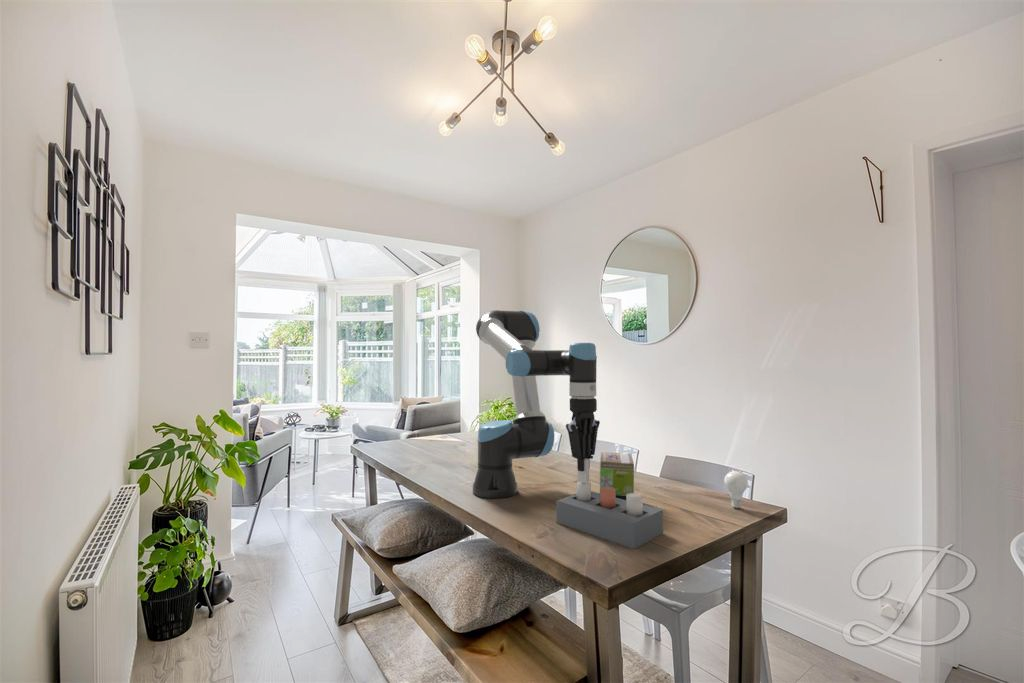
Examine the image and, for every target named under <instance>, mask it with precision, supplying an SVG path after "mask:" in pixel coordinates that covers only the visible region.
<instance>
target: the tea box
mask: <svg viewBox="0 0 1024 683" xmlns="http://www.w3.org/2000/svg"><path fill="white" fill-rule="evenodd" d="M599 463H600V464H599V489H600V488H602V487H612V488H615V495H616V498H619V499H623V500H626V495H627V494H629V493H635V463H634V459H633V455H632V453H626V452H625V453H624V452H621V453H620V452H609V451H608V452H607V451H606V452H605V451H604V452H602V451H601V453H600V460H599Z"/></svg>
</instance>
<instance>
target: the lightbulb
mask: <svg viewBox="0 0 1024 683" xmlns="http://www.w3.org/2000/svg"><path fill="white" fill-rule="evenodd" d="M724 485H725V487H726V489H727V491H728V492H729V497H730V499H731V500H730V502H731V507H732V508H734V509H735V510H736V509H740V508H742V498H743V495H744V493H745V491H746V490H747V488H748V485H749V481H748V478H747V477H746V475H745V474H744V473H742V472H741V471H737V470H732V471H731V470H730V471H729V472H727V474H725V476H724Z"/></svg>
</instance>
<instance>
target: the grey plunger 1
mask: <svg viewBox="0 0 1024 683" xmlns="http://www.w3.org/2000/svg"><path fill="white" fill-rule="evenodd" d="M575 485H576V486H575V488H576V489H575V490H576V492H575V494H576V500H579V501H583V502H588V501H590V500H591V491H592V490H591V489H592V487H591V486H592V483H591V482H590V481H589V483H582V482H578V481H577V482H576V484H575Z"/></svg>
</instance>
